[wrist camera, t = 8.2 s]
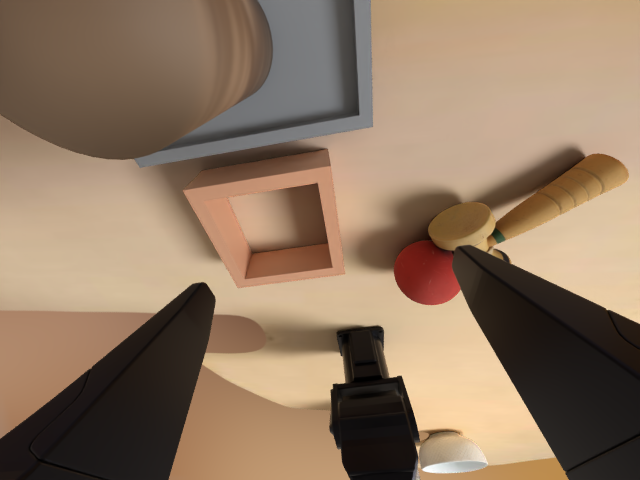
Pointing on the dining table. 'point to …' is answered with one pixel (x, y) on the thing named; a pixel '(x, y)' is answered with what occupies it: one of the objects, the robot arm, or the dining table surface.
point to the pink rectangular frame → (262, 176)
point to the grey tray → (296, 83)
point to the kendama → (496, 227)
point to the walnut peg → (127, 69)
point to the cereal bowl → (450, 454)
